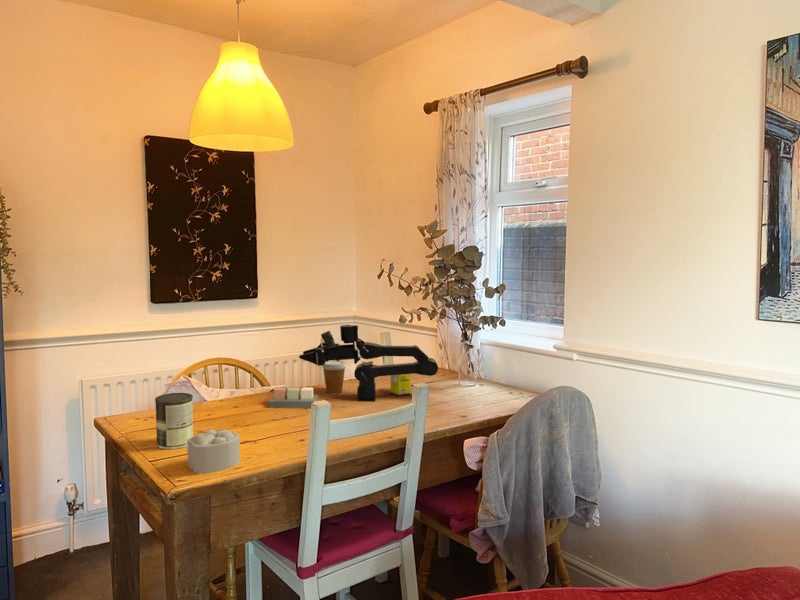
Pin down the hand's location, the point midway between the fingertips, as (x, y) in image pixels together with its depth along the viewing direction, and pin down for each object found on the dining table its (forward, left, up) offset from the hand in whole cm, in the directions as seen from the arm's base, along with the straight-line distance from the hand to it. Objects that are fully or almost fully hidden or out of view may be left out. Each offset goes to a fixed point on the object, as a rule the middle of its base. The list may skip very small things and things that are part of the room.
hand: (301, 354), depth 218 cm
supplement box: (-38, -8, -18) cm, 43 cm away
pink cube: (+7, +8, -15) cm, 18 cm away
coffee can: (+29, +52, -17) cm, 62 cm away
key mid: (+2, +8, -15) cm, 17 cm away
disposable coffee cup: (-11, -11, -17) cm, 24 cm away
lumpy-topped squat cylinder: (+12, +68, -18) cm, 71 cm away
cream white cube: (-3, +8, -15) cm, 18 cm away
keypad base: (+2, +8, -17) cm, 19 cm away
